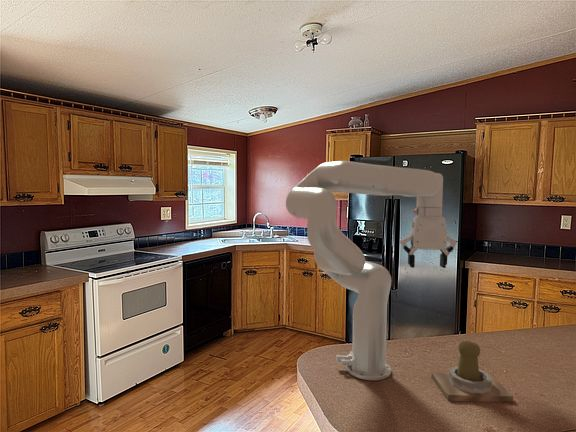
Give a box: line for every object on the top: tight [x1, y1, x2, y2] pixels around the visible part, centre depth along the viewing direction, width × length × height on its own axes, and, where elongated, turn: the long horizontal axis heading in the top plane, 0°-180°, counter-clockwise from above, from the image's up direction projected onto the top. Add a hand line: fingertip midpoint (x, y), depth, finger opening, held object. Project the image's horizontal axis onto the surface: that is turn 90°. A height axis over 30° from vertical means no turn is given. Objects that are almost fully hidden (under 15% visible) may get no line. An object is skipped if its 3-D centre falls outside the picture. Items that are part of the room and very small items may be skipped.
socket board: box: [431, 365, 514, 403], centre depth 103 cm, size 16×12×4 cm
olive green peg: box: [457, 340, 481, 382], centre depth 103 cm, size 6×6×11 cm
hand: (427, 267), depth 123 cm, fingers open, 9 cm apart
